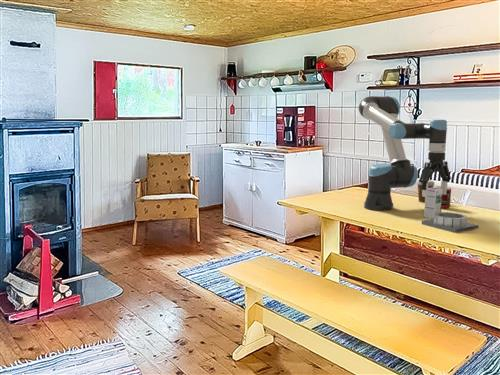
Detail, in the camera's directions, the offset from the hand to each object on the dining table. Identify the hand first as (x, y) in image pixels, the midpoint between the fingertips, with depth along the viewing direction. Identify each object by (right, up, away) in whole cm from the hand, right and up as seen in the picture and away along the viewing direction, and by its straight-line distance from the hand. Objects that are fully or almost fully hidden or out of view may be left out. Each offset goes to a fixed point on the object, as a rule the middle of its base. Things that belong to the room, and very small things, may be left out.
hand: (434, 195), depth 232 cm
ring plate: (+1, -14, -15) cm, 21 cm away
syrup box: (0, -11, +2) cm, 11 cm away
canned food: (+14, -7, +25) cm, 30 cm away
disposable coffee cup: (+11, -4, +41) cm, 43 cm away
